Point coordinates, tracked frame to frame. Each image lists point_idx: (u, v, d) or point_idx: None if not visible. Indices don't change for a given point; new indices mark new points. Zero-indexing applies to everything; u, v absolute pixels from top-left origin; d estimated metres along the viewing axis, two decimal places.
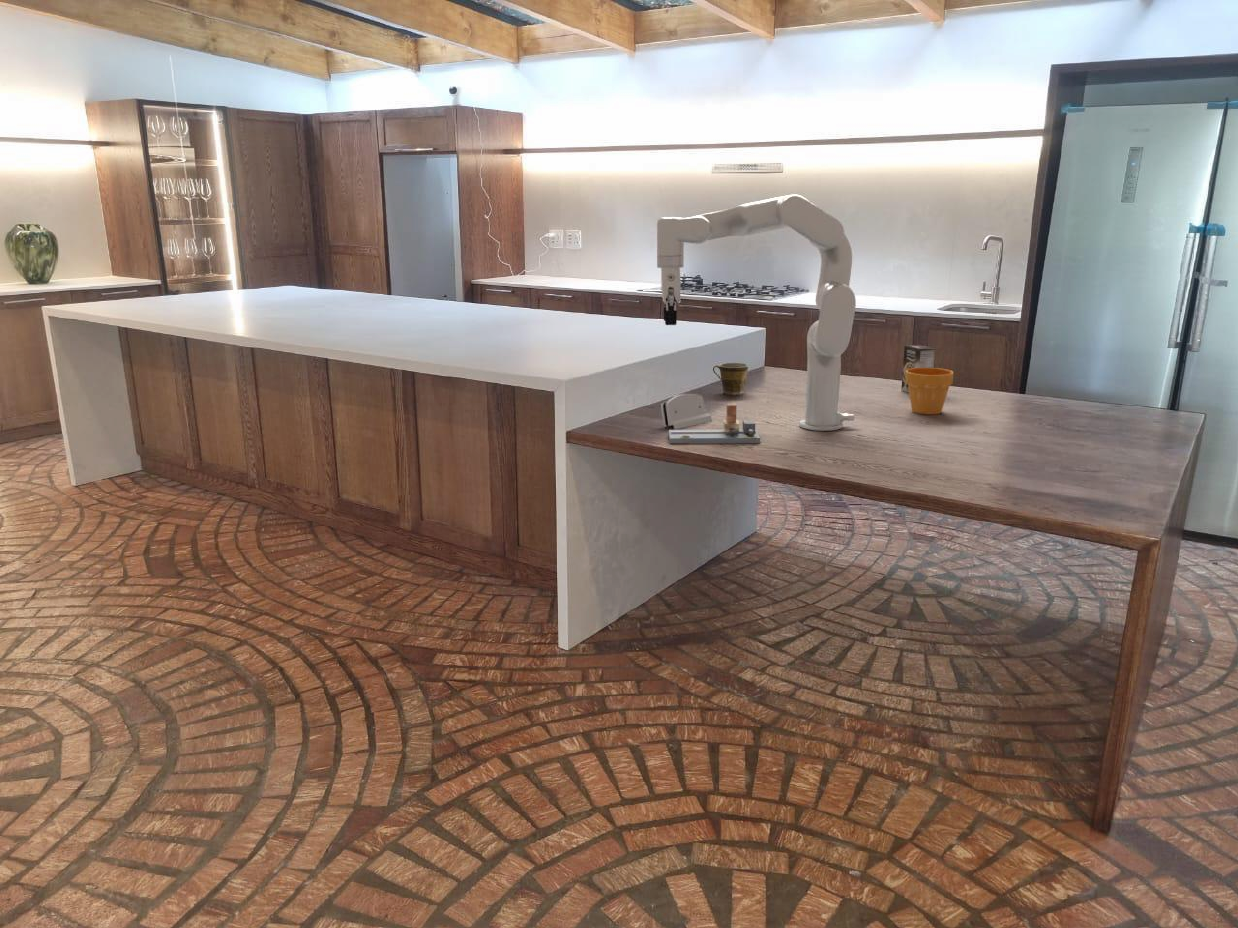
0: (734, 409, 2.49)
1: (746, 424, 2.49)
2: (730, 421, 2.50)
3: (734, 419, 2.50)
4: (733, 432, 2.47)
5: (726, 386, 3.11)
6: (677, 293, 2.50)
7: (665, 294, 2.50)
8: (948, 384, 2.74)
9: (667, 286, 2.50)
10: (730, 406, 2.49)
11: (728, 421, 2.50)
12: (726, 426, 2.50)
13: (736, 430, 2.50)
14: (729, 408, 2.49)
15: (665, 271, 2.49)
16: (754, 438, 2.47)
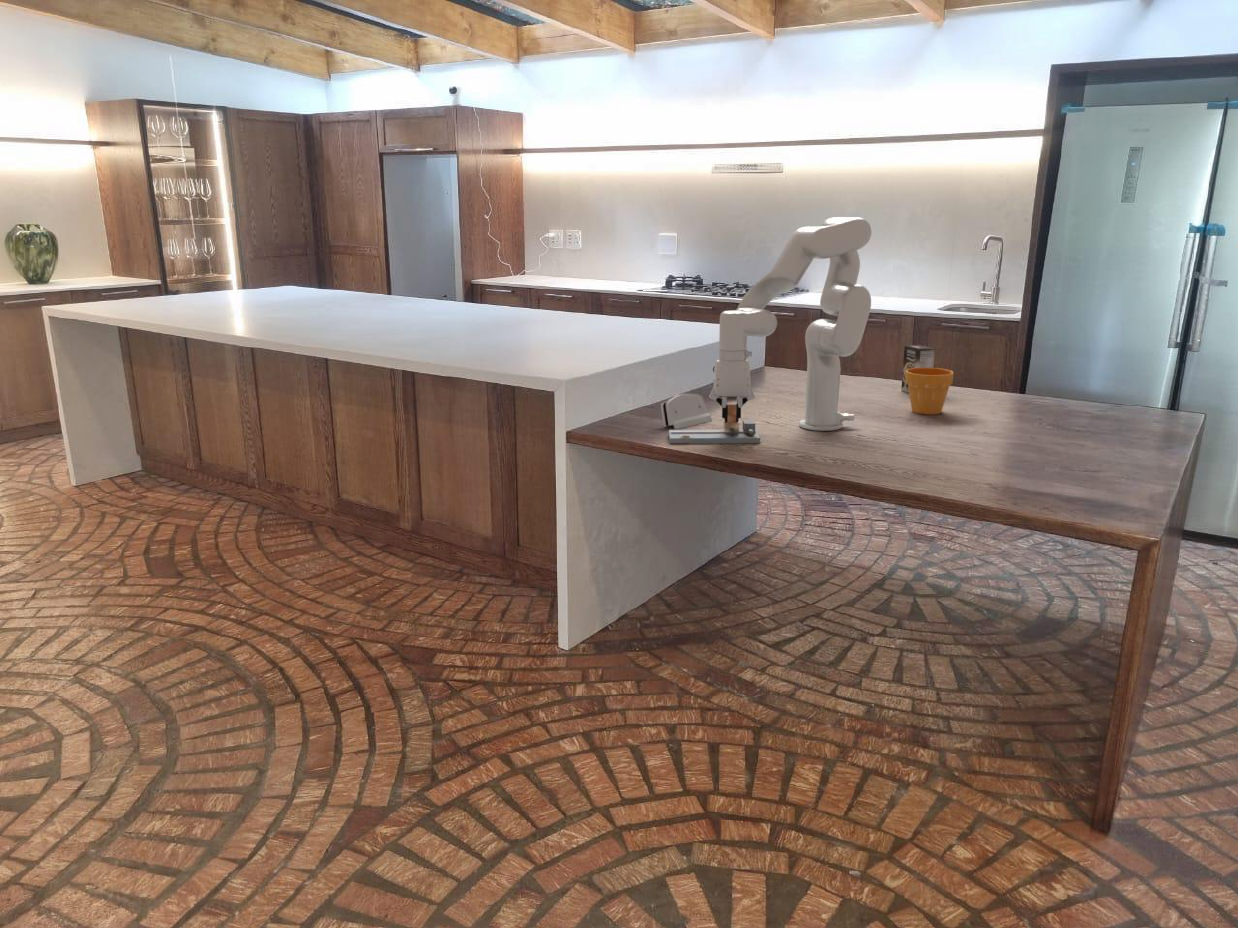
0: (734, 409, 2.49)
1: (746, 424, 2.49)
2: (730, 421, 2.50)
3: (734, 419, 2.50)
4: (733, 432, 2.47)
5: None
6: None
7: (750, 387, 2.47)
8: (948, 384, 2.74)
9: None
10: (730, 406, 2.49)
11: (728, 421, 2.50)
12: (726, 426, 2.50)
13: (736, 430, 2.50)
14: (729, 408, 2.49)
15: (748, 364, 2.46)
16: (754, 438, 2.47)
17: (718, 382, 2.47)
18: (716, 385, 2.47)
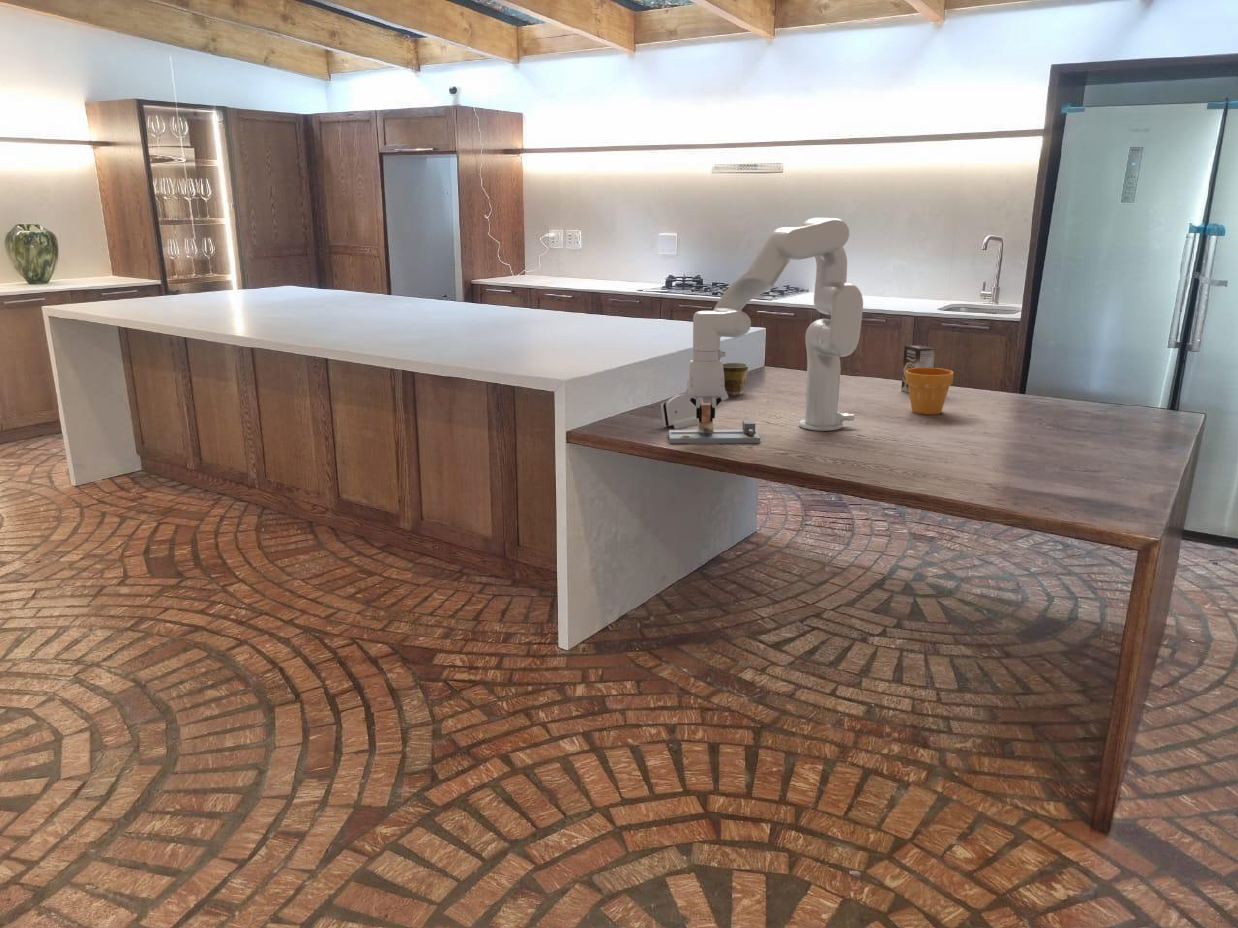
0: (708, 410, 2.49)
1: (746, 424, 2.49)
2: (704, 421, 2.50)
3: (708, 419, 2.50)
4: (706, 432, 2.47)
5: (726, 386, 3.11)
6: None
7: None
8: (948, 384, 2.74)
9: None
10: (704, 406, 2.49)
11: (702, 421, 2.50)
12: (700, 426, 2.50)
13: (710, 431, 2.50)
14: (703, 408, 2.49)
15: (722, 365, 2.46)
16: (754, 438, 2.47)
17: (692, 382, 2.47)
18: (690, 385, 2.47)
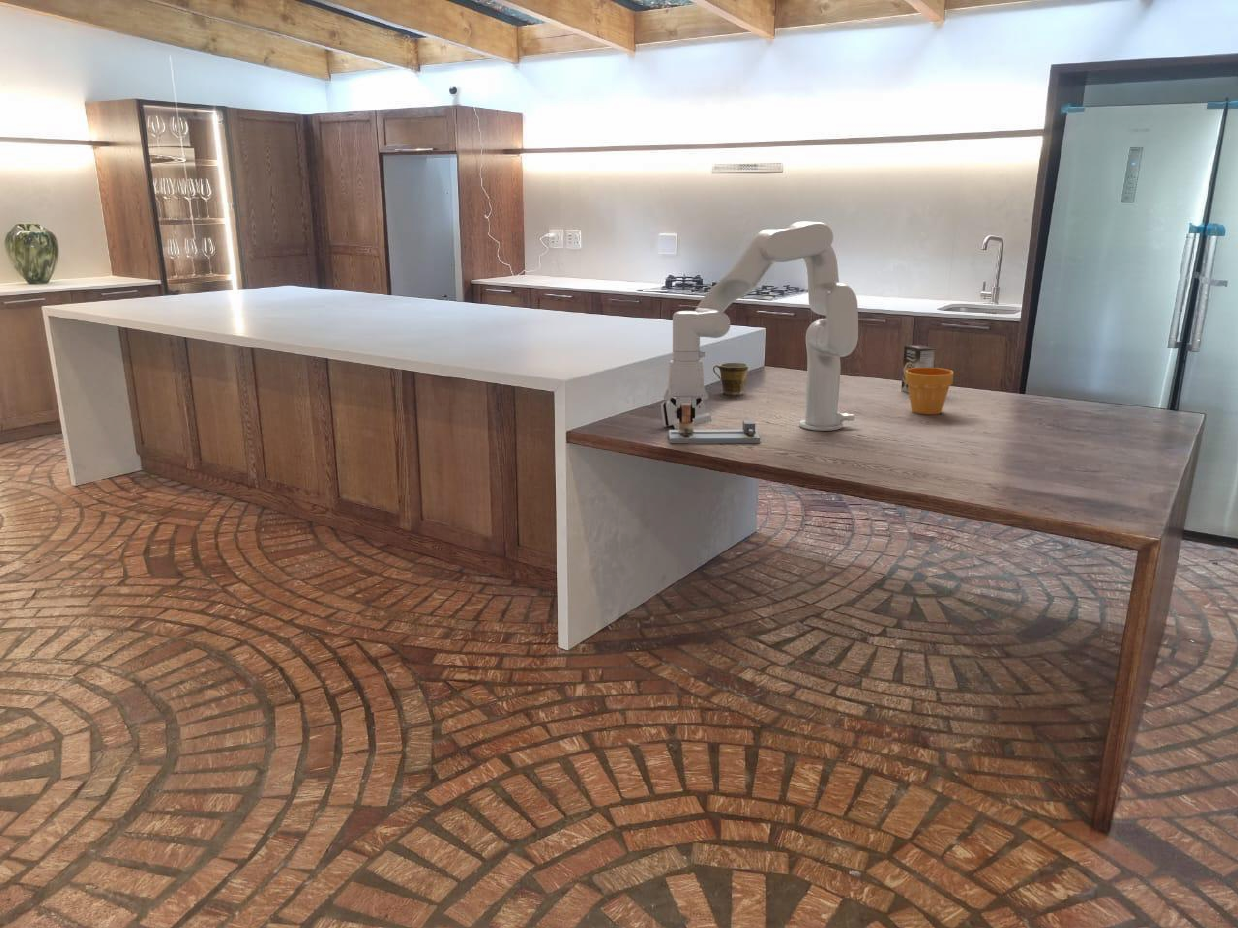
0: (689, 410, 2.50)
1: (746, 424, 2.49)
2: (684, 421, 2.51)
3: (688, 419, 2.50)
4: (686, 433, 2.47)
5: (726, 386, 3.11)
6: None
7: None
8: (948, 384, 2.74)
9: None
10: (684, 406, 2.49)
11: (682, 421, 2.51)
12: (680, 426, 2.50)
13: (690, 431, 2.50)
14: (683, 408, 2.50)
15: (701, 365, 2.46)
16: (754, 438, 2.47)
17: (672, 382, 2.47)
18: (670, 385, 2.47)
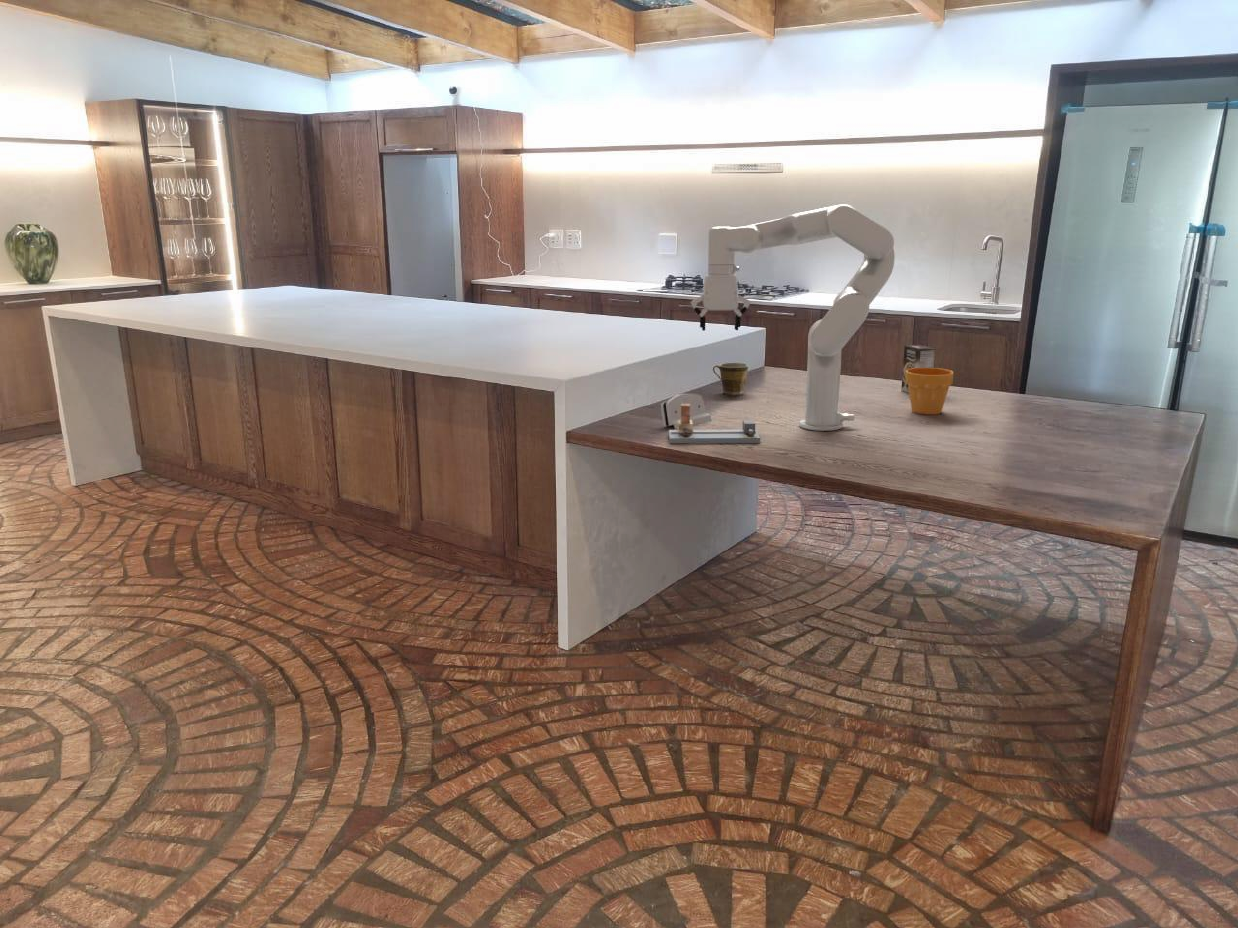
0: (688, 410, 2.50)
1: (746, 424, 2.49)
2: (684, 421, 2.51)
3: (688, 419, 2.50)
4: (686, 433, 2.47)
5: (726, 386, 3.11)
6: None
7: None
8: (948, 384, 2.74)
9: None
10: (683, 406, 2.49)
11: (682, 421, 2.51)
12: (680, 426, 2.50)
13: (689, 431, 2.50)
14: (683, 408, 2.50)
15: (736, 278, 2.57)
16: (754, 438, 2.47)
17: (707, 296, 2.58)
18: (705, 299, 2.58)
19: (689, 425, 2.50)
